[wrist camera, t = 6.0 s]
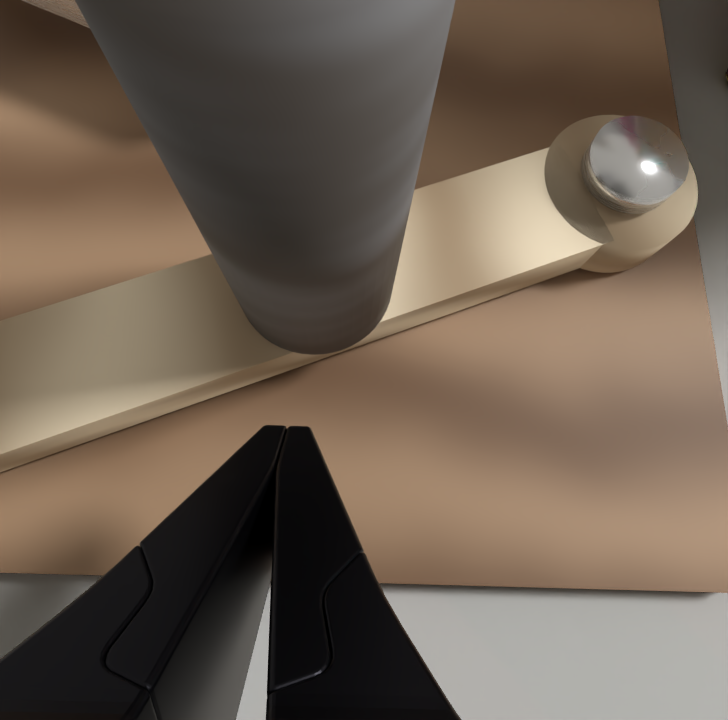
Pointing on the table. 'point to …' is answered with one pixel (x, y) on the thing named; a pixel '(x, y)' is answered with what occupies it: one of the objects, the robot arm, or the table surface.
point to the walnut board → (395, 336)
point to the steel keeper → (601, 159)
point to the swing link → (297, 212)
